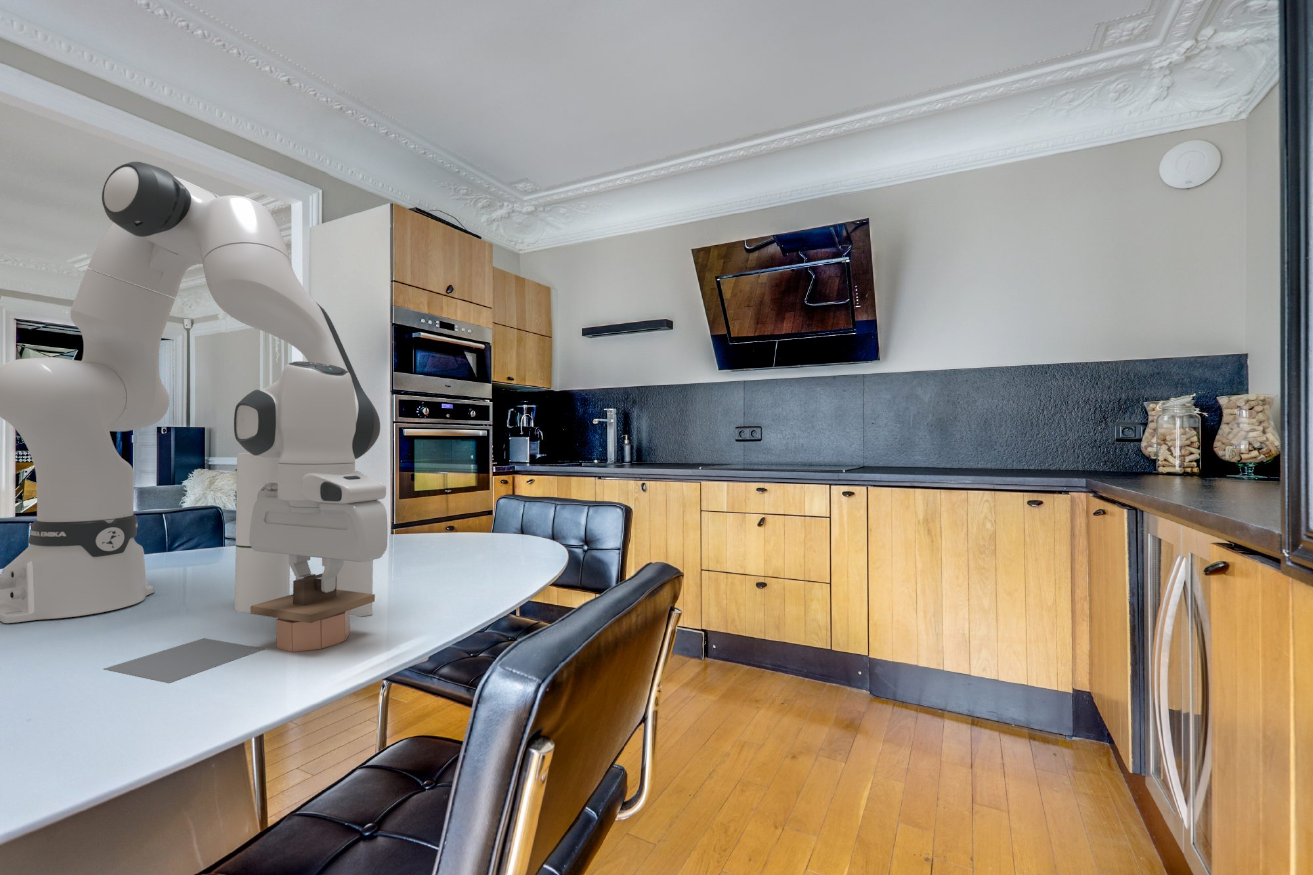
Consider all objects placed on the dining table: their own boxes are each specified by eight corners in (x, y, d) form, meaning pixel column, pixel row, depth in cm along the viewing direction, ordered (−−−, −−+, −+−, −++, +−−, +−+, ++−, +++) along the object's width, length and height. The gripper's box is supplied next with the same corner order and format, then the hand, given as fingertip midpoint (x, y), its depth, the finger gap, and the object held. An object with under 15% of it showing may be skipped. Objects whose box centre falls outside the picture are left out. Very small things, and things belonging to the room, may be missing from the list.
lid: (250, 613, 74) (250, 582, 74) (318, 594, 83) (319, 566, 83) (310, 623, 71) (311, 590, 71) (374, 601, 80) (375, 572, 80)
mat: (102, 677, 67) (102, 668, 67) (203, 645, 77) (204, 637, 77) (168, 692, 63) (169, 682, 63) (265, 656, 74) (265, 648, 74)
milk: (329, 622, 88) (330, 475, 88) (323, 612, 93) (324, 472, 92) (373, 615, 91) (374, 474, 91) (365, 605, 96) (366, 471, 96)
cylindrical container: (295, 611, 92) (297, 453, 92) (240, 621, 87) (243, 454, 87) (281, 602, 97) (284, 452, 97) (229, 611, 92) (232, 452, 92)
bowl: (266, 653, 75) (265, 617, 75) (324, 634, 82) (324, 601, 82) (303, 662, 72) (303, 625, 72) (361, 642, 79) (360, 608, 79)
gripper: (236, 483, 77) (234, 587, 77) (358, 490, 71) (356, 604, 71) (280, 480, 83) (278, 577, 83) (396, 486, 77) (394, 591, 77)
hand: (315, 589), depth 77 cm, fingers open, 2 cm apart
